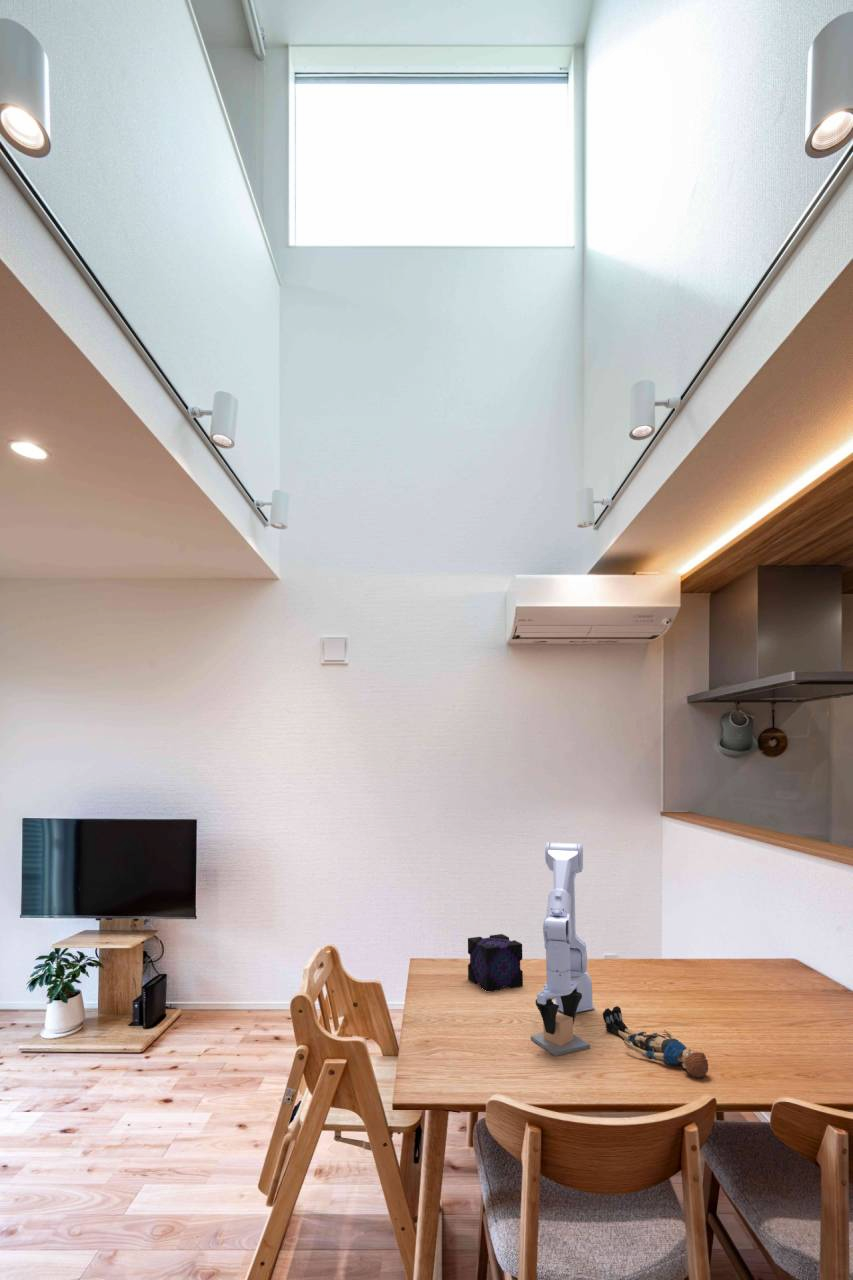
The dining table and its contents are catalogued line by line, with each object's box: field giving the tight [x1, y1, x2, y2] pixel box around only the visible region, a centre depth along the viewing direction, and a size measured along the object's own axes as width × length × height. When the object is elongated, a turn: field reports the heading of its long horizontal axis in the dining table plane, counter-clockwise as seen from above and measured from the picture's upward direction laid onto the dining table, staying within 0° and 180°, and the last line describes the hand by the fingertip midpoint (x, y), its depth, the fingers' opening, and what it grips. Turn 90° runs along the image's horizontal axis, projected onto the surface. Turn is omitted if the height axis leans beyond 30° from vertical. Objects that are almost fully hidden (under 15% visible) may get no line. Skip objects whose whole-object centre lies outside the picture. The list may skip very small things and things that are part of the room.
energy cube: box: [467, 933, 524, 992], centre depth 213 cm, size 12×12×12 cm
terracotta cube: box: [542, 1011, 574, 1046], centre depth 170 cm, size 5×5×5 cm
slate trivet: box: [530, 1032, 591, 1057], centre depth 170 cm, size 10×10×1 cm
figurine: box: [602, 1005, 709, 1079], centre depth 165 cm, size 13×6×30 cm
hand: (559, 1028), depth 170 cm, fingers open, 7 cm apart
